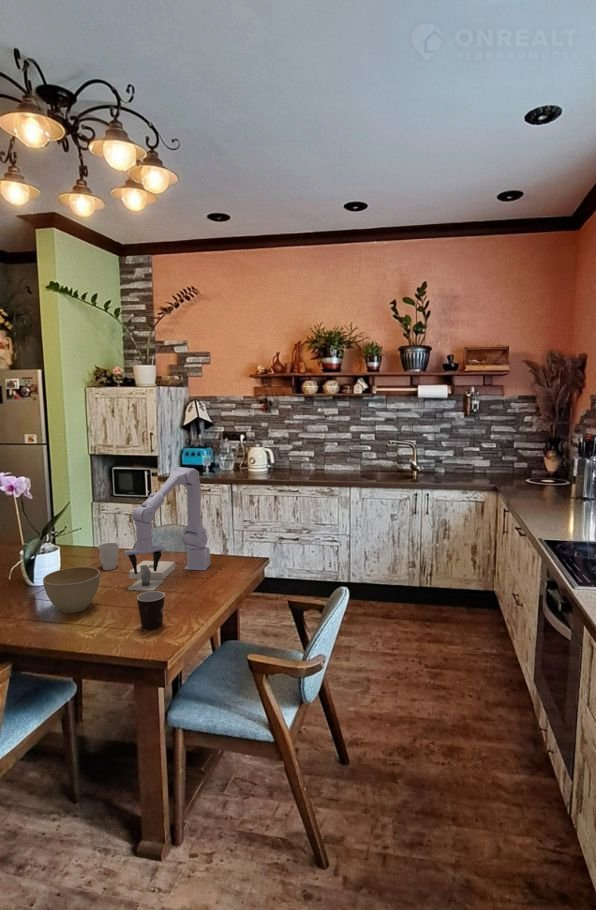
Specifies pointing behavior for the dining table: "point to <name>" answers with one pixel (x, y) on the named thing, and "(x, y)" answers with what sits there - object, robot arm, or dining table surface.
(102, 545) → the cup
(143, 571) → the t key
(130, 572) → the key housing
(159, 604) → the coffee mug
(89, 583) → the brown bowl
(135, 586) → the grey mat
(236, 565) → the dining table surface
